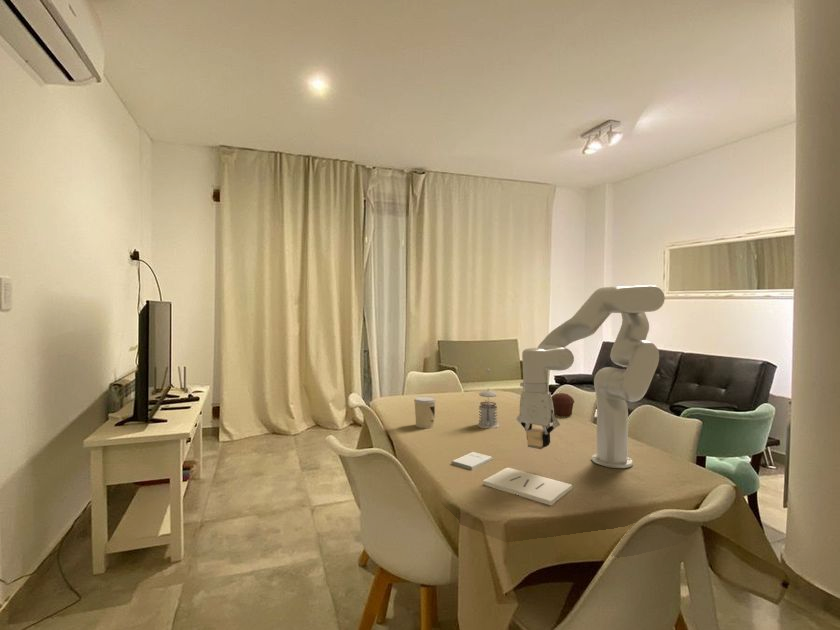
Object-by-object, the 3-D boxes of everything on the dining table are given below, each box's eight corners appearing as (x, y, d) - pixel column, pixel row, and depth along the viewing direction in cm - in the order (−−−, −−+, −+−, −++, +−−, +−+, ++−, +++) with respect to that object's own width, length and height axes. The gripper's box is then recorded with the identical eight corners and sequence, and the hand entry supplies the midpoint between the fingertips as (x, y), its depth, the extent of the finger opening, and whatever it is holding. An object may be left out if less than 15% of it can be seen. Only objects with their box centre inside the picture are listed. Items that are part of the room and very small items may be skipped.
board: (507, 471, 140) (507, 467, 140) (572, 488, 126) (572, 484, 126) (483, 484, 129) (482, 480, 129) (551, 505, 116) (551, 500, 116)
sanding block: (536, 441, 144) (535, 426, 144) (549, 444, 141) (548, 428, 141) (527, 446, 140) (526, 431, 139) (541, 449, 137) (540, 433, 136)
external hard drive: (451, 465, 146) (472, 455, 156) (472, 471, 141) (492, 461, 151) (451, 460, 146) (472, 451, 156) (472, 466, 141) (492, 456, 151)
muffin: (573, 412, 218) (573, 392, 218) (576, 417, 207) (576, 396, 207) (548, 411, 221) (548, 391, 221) (549, 416, 210) (549, 395, 210)
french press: (499, 422, 198) (499, 367, 198) (499, 429, 187) (499, 371, 187) (477, 421, 200) (477, 366, 200) (476, 428, 189) (476, 370, 188)
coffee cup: (435, 428, 189) (435, 400, 189) (413, 428, 189) (413, 400, 189) (435, 423, 198) (435, 396, 198) (414, 423, 198) (414, 396, 198)
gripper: (506, 387, 142) (509, 443, 143) (556, 392, 131) (559, 452, 132) (517, 383, 148) (520, 437, 149) (566, 387, 137) (569, 445, 138)
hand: (538, 443), depth 140 cm, fingers closed on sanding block, 4 cm apart
